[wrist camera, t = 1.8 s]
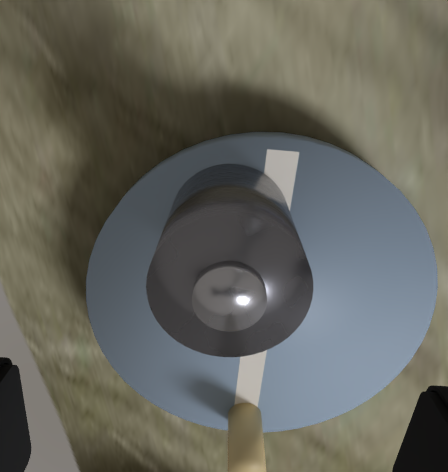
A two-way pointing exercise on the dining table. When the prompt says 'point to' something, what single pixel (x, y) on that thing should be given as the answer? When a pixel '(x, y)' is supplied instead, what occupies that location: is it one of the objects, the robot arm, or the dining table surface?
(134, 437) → the dining table surface
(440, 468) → the robot arm
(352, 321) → the turntable
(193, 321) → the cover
